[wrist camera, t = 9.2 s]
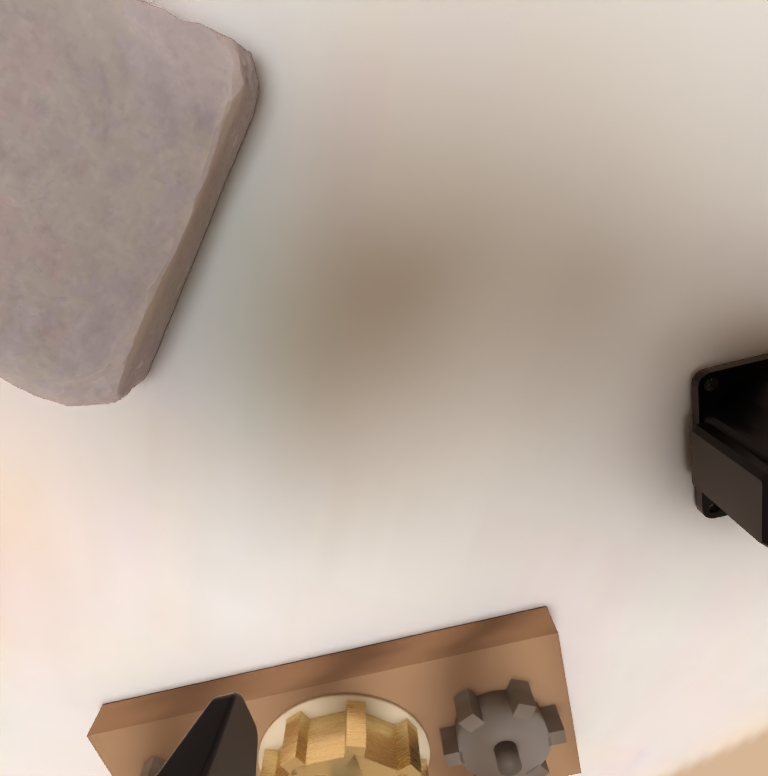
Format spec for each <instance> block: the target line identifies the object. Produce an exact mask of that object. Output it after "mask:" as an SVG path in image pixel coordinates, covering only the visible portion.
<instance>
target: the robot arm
mask: <svg viewBox="0 0 768 776" xmlns="http://www.w3.org/2000/svg"><path fill="white" fill-rule="evenodd" d="M709 379H712V381H711V383H710V384H709V386H707V387H705V383H706V382H707V380H709ZM692 405H693V426H692V429H691V431H690V440H691V464H692V483H693V485H694V486H696V505H697V509H698V510H699V511H700V512H701V513H702V514H704V515H705V516H706V517H708V518H717V517H722V516H726V515H729V516H730V517H731V518H732V519H733V520H734V521H736V522H737V523H738V524H739V525H740V526H741V527H742V528H744V529H745V530H746V531H747V532H748V533H749V534H750V535H752V536H753V537H754V538H755V539H756V540H757V541H758V542H760V543H761V544H763V545H765V546H766V547H768V354H764V355H760V356H756V357H752V358H748V359H743V360H739V361H735V362H731V363H727V364H723V365H718V366H714V367H710V368H706V369H703V370H701V371H699V372H698V373H697V374H695V376H694V378H693V379H692ZM712 503H714V504H713V506H711V507H709V506H710V505H711V504H712ZM257 747H258V734H257V728H256V725H255V722H254V720H253V718H252V716H251V714H250V711H249V709H248V707H247V705H246V703H245V701H244V699H243V697H242V695H241V694H240V693H238V692H233V693H228V694H224V695H219V696H216V697H215V698H213V699H212V700H211V701H210V703H209V704H208V705H207V707H206V708H205V709H204V711H203V712H202V713H201V715H200V716H199V718H198V719H197V720H196V722H195V723H194V724H193V726H192V727H191V728H190V730H189V731H188V732H187V734H186V735H185V737H184V738H183V739H182V741H181V742H180V743H179V745H178V746H177V747H176V749H175V750H174V751H173V753H172V754H171V756H170V757H169V758H168V760H167V761H166V762H165V764H164V765H163V766H162V768H161V769H160V771H159V772H158V773H157V775H156V776H256V765H257Z"/></svg>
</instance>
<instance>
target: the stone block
mask: <svg viewBox="0 0 768 776" xmlns="http://www.w3.org/2000/svg"><path fill="white" fill-rule="evenodd" d="M258 90H259V84H258V79H257V74H256V70H255V66H254V63H253V59H252V55H251V53H250V52H249V51H247V50H245V49H244V48H243V47H242V46H240V45H239V44H238V43H237V42H235V41H234V40H232V39H230V38H228V37H226V36H224V35H222V34H220V33H218V32H216V31H214V30H212V29H209V28H207V27H205V26H203V25H201V24H199V23H192V22H185V21H183V20H180V19H178V18H176V17H175V16H173V15H172V14H170V13H169V12H167V11H166V10H164V9H162V8H158V7H155V6H152V5H150V4H148V3H147V2H145V1H143V0H0V377H1V378H3V379H4V380H6V381H8V382H9V383H11V384H13V385H14V386H16V387H18V388H21V389H23V390H25V391H27V392H29V393H31V394H33V395H35V396H38V397H41V398H43V399H47V400H51V401H55V402H58V403H60V404H63V405H66V406H81V405H96V404H109V403H111V402H116V401H118V400H121V398H123V397H124V396H126V395H127V394H128V393H129V392H130V390H131V389H132V387H135V386H136V385H137V384H138V383H140V382H141V381H142V380H144V378H145V377H146V375H147V373H148V372H149V369H150V366H151V363H152V361H153V359H154V357H155V355H156V353H157V350H158V347H159V345H160V342H161V340H162V337H163V334H164V331H165V329H166V326H167V324H168V322H169V319H170V317H171V315H172V313H173V310H174V308H175V305H176V302H177V300H178V297H179V295H180V292H181V289H182V287H183V284H184V282H185V280H186V277H187V275H188V273H189V271H190V268H191V266H192V264H193V261H194V259H195V256H196V253H197V251H198V248H199V246H200V244H201V241H202V239H203V236H204V234H205V231H206V229H207V227H208V224H209V222H210V219H211V216H212V214H213V211H214V209H215V206H216V204H217V201H218V199H219V196H220V193H221V190H222V187H223V185H224V183H225V181H226V178H227V176H228V174H229V171H230V169H231V167H232V165H233V162H234V160H235V158H236V155H237V152H238V149H239V147H240V145H241V143H242V141H243V139H244V136H245V134H246V131H247V128H248V126H249V123H250V121H251V119H252V117H253V114H254V110H255V105H256V100H257V95H258Z"/></svg>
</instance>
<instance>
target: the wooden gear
mask: <svg viewBox="0 0 768 776" xmlns="http://www.w3.org/2000/svg"><path fill="white" fill-rule="evenodd" d="M260 776H429V773H428V764H427V759H420V751H419V742H418V732H417V728H416V727H415V726H414V725H413V724H412V723H411V722H410V721H409V720H408V719H407V718H406V719H404V720H403V721H401V722H399V723H397V724H393V723H390V722H388V721H385V720H383V719H380V718H378V717H375V716H373V715H370V714H368V713H366V702H363V701H349V700H347V705H346V711H342V712H337V713H333V714H328V715H324V716H319V717H314V718H309V717H308V716H307V715H305V714H304V713H303V712H302V711H299V712H297V713H296V714H294V715H292V716H291V717H289V718H287V720H286V727H285V734H284V741H283V744H282V746H281V747H280V749H279V750H276V749H265V750H264V756H263V762H262V768H261V773H260Z"/></svg>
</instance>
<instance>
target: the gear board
mask: <svg viewBox="0 0 768 776" xmlns="http://www.w3.org/2000/svg"><path fill="white" fill-rule="evenodd" d="M233 692H238V693H240V694H241V695H242V697H243V699H244V701H245V703H246V705H247V707H248V709H249V711H250V714H251V716H252V718H253V720H254V722H255V725H256V728H257V734H258V747H257V765H256V776H260V773H261V768H262V762H263V756H264V750H265V749H276V750H279V749H280V747H281V746H282V744H283V741H284V734H285V727H286V720H287V718H289V717H291V716H292V715H294V714H296V713H297V712H299V711H302V712H303V713H304V714H305V715H307V716H308V717H309V718H314V717H319V716H324V715H328V714H333V713H337V712H342V711H346V705H347V700H349V701H363V702H366V713H368V714H370V715H373V716H375V717H378V718H380V719H383V720H385V721H388V722H390V723H393V724H397V723H399V722H401V721H403V720H404V719H406V718H407V719H408V720H409V721H410V722H411V723H412V724H413V725H414V726H415V727H416V728H417V732H418V742H419V751H420V759H427V764H428V773H429V776H568V775H573V774H578V773H581V768H580V762H579V756H578V750H577V744H576V738H575V732H574V726H573V720H572V714H571V708H570V702H569V696H568V690H567V684H566V678H565V672H564V666H563V660H562V654H561V648H560V642H559V636H558V632H557V630H556V627H555V625H554V623H553V621H552V618H551V616H550V614H549V612H548V609H547V607H542V608H538V609H533V610H529V611H524V612H520V613H515V614H511V615H506V616H501V617H497V618H492V619H488V620H483V621H479V622H474V623H470V624H465V625H461V626H456V627H452V628H447V629H443V630H438V631H434V632H429V633H425V634H420V635H416V636H411V637H407V638H402V639H398V640H393V641H389V642H384V643H380V644H375V645H371V646H366V647H362V648H357V649H353V650H348V651H344V652H339V653H335V654H330V655H326V656H321V657H317V658H312V659H308V660H303V661H299V662H294V663H290V664H285V665H281V666H276V667H272V668H267V669H263V670H258V671H254V672H249V673H245V674H240V675H236V676H231V677H227V678H222V679H218V680H213V681H209V682H204V683H200V684H195V685H191V686H186V687H181V688H177V689H172V690H168V691H163V692H159V693H154V694H150V695H145V696H141V697H136V698H132V699H127V700H123V701H118V702H114V703H109V704H105V705H102V707H101V709H100V711H99V713H98V715H97V717H96V719H95V721H94V723H93V725H92V727H91V729H90V731H89V733H88V735H87V737H88V739H89V740H90V742H91V743H92V745H93V747H94V748H95V750H96V751H97V753H98V754H99V756H100V758H101V759H102V761H103V762H104V764H105V765H106V767H107V769H108V770H109V772H110V773H111V775H112V776H156V775H157V773H158V772H159V771H160V769H161V768H162V766H163V765H164V764H165V762H166V761H167V760H168V758H169V757H170V756H171V754H172V753H173V751H174V750H175V749H176V747H177V746H178V745H179V743H180V742H181V741H182V739H183V738H184V737H185V735H186V734H187V732H188V731H189V730H190V728H191V727H192V726H193V724H194V723H195V722H196V720H197V719H198V718H199V716H200V715H201V713H202V712H203V711H204V709H205V708H206V707H207V705H208V704H209V703H210V701H211V700H212V699H213V698H215V697H216V696H219V695H224V694H228V693H233Z"/></svg>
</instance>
